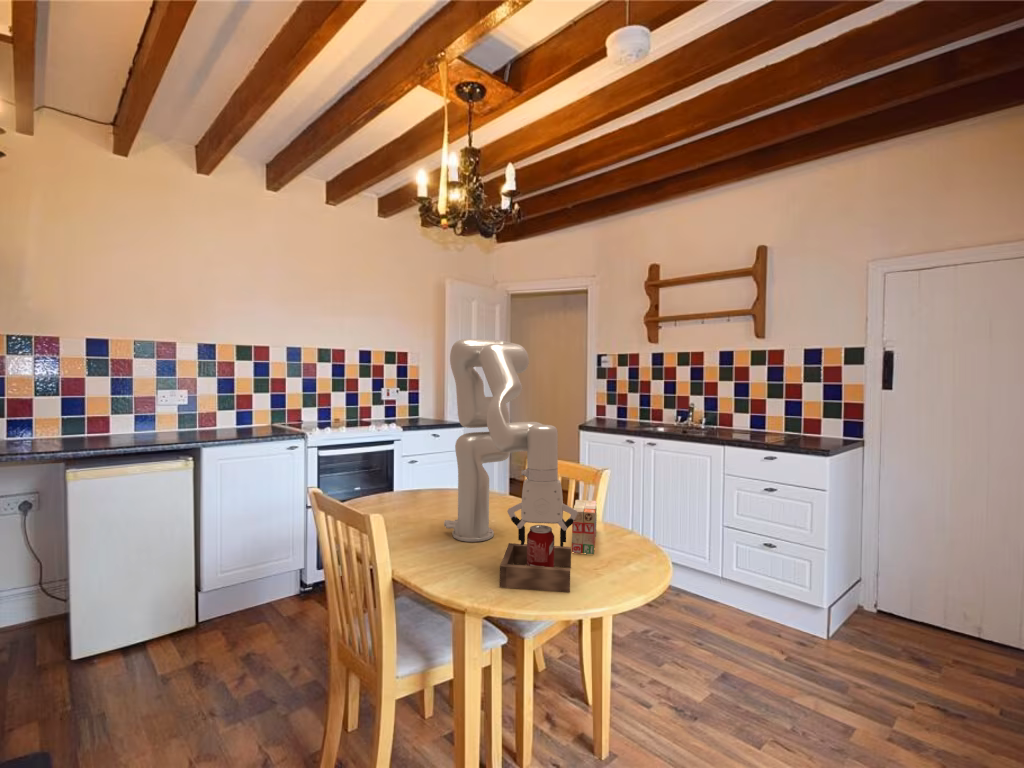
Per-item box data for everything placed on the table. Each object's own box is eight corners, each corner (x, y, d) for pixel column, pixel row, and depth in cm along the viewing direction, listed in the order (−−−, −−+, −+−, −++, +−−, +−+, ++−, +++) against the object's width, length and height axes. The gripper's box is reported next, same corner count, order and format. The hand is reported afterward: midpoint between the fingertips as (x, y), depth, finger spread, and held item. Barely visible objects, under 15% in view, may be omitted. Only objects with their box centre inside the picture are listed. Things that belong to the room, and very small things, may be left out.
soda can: (545, 584, 123) (546, 534, 123) (521, 577, 127) (522, 529, 126) (558, 574, 129) (559, 527, 129) (534, 568, 133) (535, 522, 132)
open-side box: (499, 587, 121) (499, 566, 121) (508, 561, 137) (508, 543, 137) (569, 592, 119) (570, 570, 119) (570, 565, 135) (571, 546, 135)
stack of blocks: (576, 530, 165) (577, 492, 164) (596, 531, 164) (597, 493, 163) (571, 553, 144) (572, 510, 143) (594, 555, 143) (595, 511, 142)
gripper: (505, 477, 124) (505, 547, 124) (577, 479, 122) (577, 550, 122) (509, 471, 132) (509, 538, 132) (577, 473, 130) (577, 540, 130)
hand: (542, 544), depth 127 cm, fingers open, 9 cm apart
